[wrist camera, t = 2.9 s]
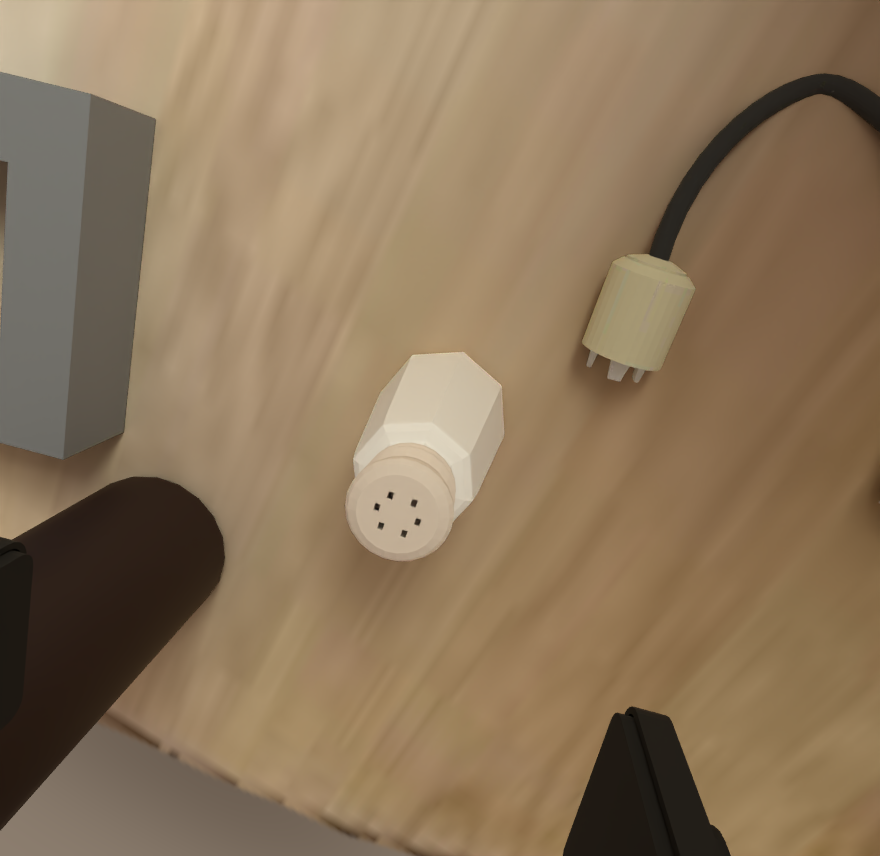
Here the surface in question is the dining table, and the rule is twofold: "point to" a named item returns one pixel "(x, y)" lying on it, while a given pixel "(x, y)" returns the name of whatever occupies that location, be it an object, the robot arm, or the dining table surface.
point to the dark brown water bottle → (101, 614)
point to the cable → (652, 275)
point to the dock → (69, 263)
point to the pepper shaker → (423, 454)
